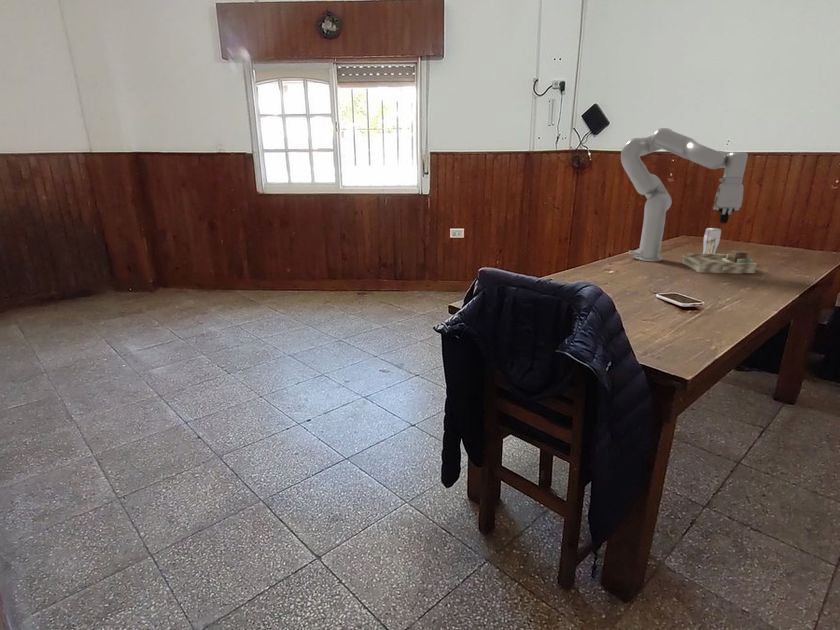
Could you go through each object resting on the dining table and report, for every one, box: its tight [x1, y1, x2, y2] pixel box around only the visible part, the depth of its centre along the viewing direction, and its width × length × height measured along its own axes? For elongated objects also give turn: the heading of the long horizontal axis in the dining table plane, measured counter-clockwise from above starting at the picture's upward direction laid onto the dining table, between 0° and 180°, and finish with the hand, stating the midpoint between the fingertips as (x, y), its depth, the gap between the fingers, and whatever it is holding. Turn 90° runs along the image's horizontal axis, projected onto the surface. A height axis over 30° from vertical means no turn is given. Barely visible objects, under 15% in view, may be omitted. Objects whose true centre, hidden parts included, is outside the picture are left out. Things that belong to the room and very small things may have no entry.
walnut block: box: [729, 249, 749, 263], centre depth 231 cm, size 5×5×5 cm
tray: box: [681, 252, 758, 274], centre depth 233 cm, size 24×19×6 cm
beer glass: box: [702, 227, 722, 254], centre depth 249 cm, size 7×7×15 cm
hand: (723, 223), depth 227 cm, fingers closed
